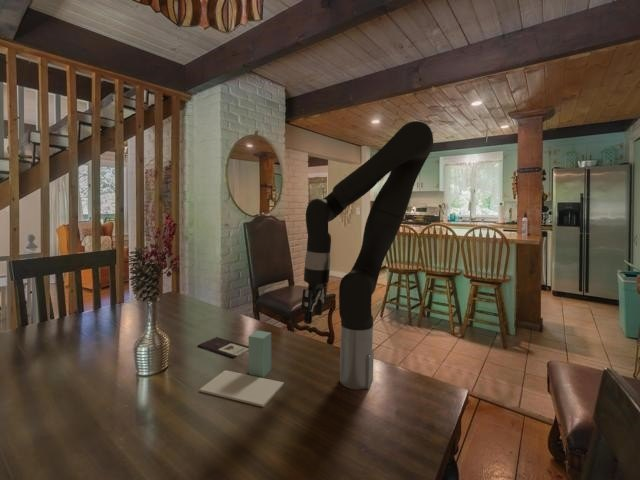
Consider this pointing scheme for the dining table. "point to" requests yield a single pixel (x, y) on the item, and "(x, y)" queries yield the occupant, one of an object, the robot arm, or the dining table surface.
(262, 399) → the cream mat
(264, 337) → the teal block
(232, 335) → the dining table surface
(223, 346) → the chocolate bar
